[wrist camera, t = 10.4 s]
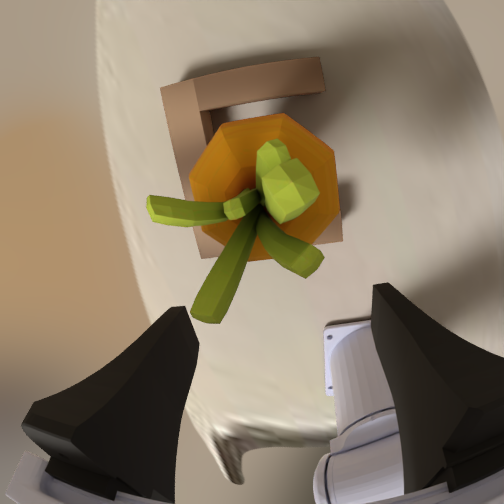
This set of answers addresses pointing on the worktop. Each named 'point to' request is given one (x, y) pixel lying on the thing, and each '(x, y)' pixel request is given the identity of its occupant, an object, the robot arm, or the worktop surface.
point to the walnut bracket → (225, 95)
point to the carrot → (256, 203)
